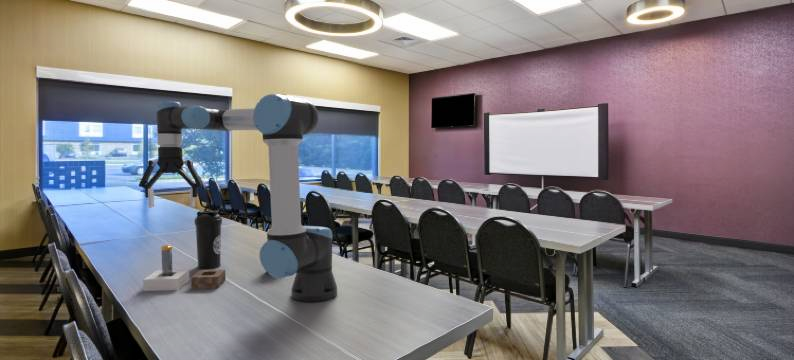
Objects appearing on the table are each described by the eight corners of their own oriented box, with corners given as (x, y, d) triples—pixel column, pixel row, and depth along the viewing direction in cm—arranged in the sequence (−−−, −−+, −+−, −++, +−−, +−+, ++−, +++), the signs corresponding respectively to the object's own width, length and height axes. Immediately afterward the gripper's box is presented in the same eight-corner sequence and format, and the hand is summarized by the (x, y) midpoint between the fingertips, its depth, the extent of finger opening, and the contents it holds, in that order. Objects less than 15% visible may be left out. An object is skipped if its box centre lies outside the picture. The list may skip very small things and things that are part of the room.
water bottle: (216, 269, 168) (215, 212, 166) (190, 269, 168) (189, 212, 166) (226, 263, 178) (225, 209, 176) (202, 262, 178) (201, 208, 176)
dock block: (189, 280, 154) (189, 269, 154) (177, 290, 143) (177, 278, 143) (157, 280, 153) (157, 270, 153) (143, 291, 142) (143, 279, 142)
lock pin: (174, 283, 150) (173, 245, 149) (170, 286, 147) (169, 247, 146) (164, 284, 150) (163, 245, 149) (160, 286, 146) (159, 247, 145)
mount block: (225, 280, 155) (225, 269, 155) (218, 288, 146) (218, 276, 146) (199, 280, 154) (199, 270, 154) (191, 288, 145) (191, 277, 145)
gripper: (211, 146, 152) (212, 204, 153) (136, 146, 148) (138, 206, 149) (204, 146, 144) (206, 207, 146) (126, 146, 141) (128, 208, 142)
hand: (172, 206), depth 148 cm, fingers open, 13 cm apart
